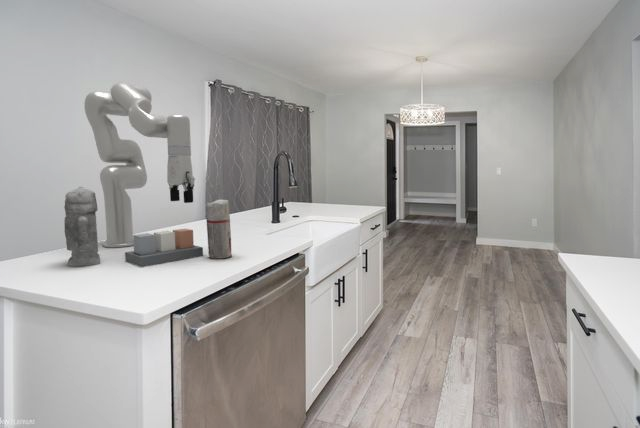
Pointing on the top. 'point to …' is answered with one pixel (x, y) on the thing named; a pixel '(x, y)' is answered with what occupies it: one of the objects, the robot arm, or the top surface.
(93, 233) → the figurine
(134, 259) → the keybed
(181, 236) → the terracotta key
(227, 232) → the spray can
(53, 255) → the top surface
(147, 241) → the slate key
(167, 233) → the ivory key
